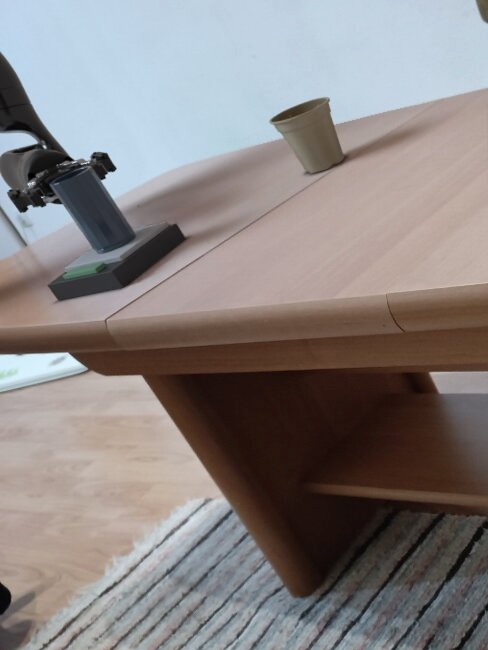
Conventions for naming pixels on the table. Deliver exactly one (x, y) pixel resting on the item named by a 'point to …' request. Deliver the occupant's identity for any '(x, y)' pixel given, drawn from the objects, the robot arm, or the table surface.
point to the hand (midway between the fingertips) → (70, 185)
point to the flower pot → (310, 134)
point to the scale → (117, 262)
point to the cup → (93, 209)
